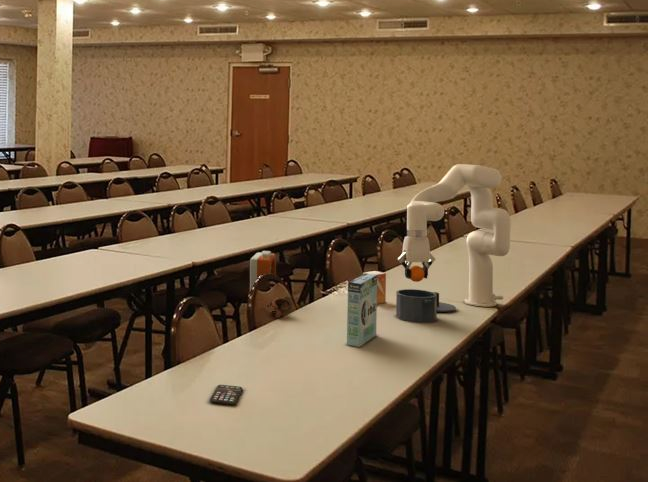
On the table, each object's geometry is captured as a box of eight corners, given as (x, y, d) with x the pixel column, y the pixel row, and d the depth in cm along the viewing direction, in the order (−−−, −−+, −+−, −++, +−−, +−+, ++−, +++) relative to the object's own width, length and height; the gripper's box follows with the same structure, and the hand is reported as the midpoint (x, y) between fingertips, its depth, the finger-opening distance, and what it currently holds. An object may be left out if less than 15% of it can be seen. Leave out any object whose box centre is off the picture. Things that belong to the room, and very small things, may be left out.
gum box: (364, 333, 311) (364, 272, 310) (377, 335, 308) (378, 274, 307) (346, 345, 295) (346, 281, 295) (360, 347, 292) (360, 283, 292)
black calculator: (242, 386, 248) (234, 403, 234) (242, 389, 248) (234, 405, 234) (218, 384, 250) (209, 400, 236) (218, 386, 250) (209, 402, 236)
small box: (374, 304, 357) (374, 274, 357) (362, 302, 362) (362, 272, 362) (386, 302, 361) (386, 272, 361) (374, 299, 366) (374, 270, 366)
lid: (443, 303, 359) (443, 288, 359) (463, 312, 343) (463, 296, 343) (408, 304, 357) (408, 289, 357) (426, 313, 341) (427, 297, 341)
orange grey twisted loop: (291, 314, 342) (295, 299, 337) (286, 329, 334) (290, 314, 330) (263, 304, 345) (266, 290, 341) (258, 319, 337) (261, 304, 333)
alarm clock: (269, 301, 363) (269, 254, 363) (249, 299, 366) (249, 253, 366) (275, 292, 380) (276, 248, 380) (256, 291, 383) (257, 247, 383)
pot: (421, 311, 346) (421, 287, 345) (447, 323, 325) (447, 298, 325) (386, 312, 344) (387, 288, 344) (410, 324, 323) (410, 299, 323)
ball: (419, 279, 338) (419, 264, 338) (427, 282, 331) (427, 266, 331) (405, 280, 337) (404, 264, 337) (412, 283, 331) (412, 267, 331)
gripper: (432, 232, 339) (431, 275, 339) (392, 232, 337) (391, 276, 337) (441, 235, 331) (441, 279, 331) (400, 235, 329) (400, 280, 329)
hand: (416, 277), depth 334 cm, fingers closed on ball, 6 cm apart
